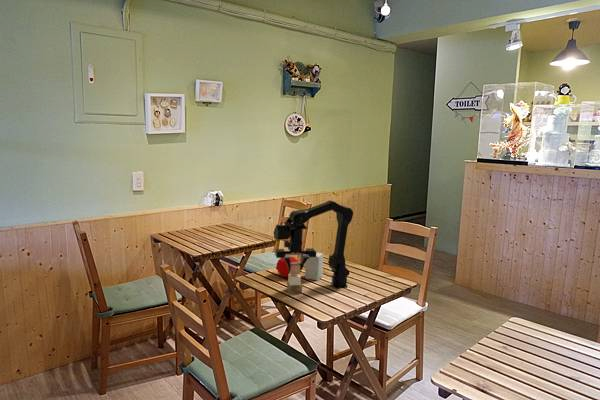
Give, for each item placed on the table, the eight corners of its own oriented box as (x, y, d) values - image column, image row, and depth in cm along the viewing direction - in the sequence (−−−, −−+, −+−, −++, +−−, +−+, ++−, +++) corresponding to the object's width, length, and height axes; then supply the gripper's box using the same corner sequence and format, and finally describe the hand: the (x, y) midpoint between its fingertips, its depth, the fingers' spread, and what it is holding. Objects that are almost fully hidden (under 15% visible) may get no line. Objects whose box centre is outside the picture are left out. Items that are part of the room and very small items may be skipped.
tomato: (299, 279, 213) (300, 259, 212) (275, 278, 213) (276, 258, 212) (299, 272, 224) (300, 253, 223) (276, 271, 225) (277, 252, 223)
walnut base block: (299, 289, 201) (299, 281, 200) (301, 293, 195) (302, 285, 195) (286, 289, 200) (287, 281, 199) (289, 294, 194) (289, 286, 193)
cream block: (298, 281, 200) (298, 273, 199) (300, 285, 195) (300, 277, 194) (288, 281, 199) (288, 273, 198) (289, 285, 194) (290, 277, 193)
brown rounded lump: (299, 271, 199) (299, 262, 198) (301, 274, 194) (301, 265, 194) (288, 271, 198) (289, 262, 197) (290, 274, 193) (290, 265, 192)
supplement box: (322, 276, 220) (324, 253, 218) (317, 280, 213) (318, 256, 211) (310, 274, 223) (311, 251, 221) (304, 278, 216) (305, 254, 214)
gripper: (311, 234, 203) (310, 265, 206) (273, 234, 199) (272, 266, 202) (317, 239, 193) (315, 272, 195) (277, 240, 189) (276, 273, 191)
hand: (294, 270), depth 196 cm, fingers closed on brown rounded lump, 5 cm apart
